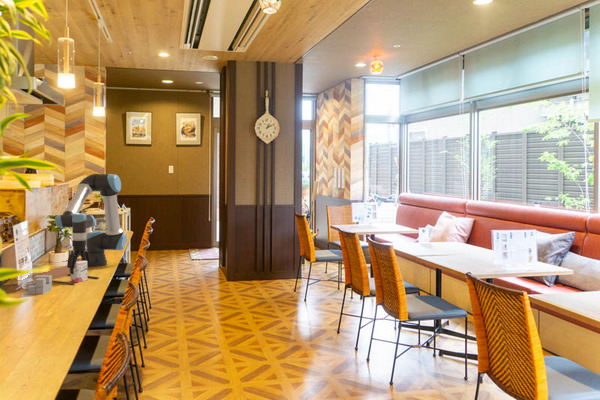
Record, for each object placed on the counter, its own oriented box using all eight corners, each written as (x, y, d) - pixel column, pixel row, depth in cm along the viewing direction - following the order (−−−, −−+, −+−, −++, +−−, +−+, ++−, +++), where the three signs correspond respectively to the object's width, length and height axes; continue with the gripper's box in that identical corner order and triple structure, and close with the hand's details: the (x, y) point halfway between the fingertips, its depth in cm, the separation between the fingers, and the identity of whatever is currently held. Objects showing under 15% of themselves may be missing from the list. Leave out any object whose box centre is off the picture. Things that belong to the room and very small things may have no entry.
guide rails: (67, 275, 329) (67, 273, 328) (98, 278, 319) (98, 277, 319) (40, 280, 310) (40, 279, 310) (73, 285, 301) (73, 283, 301)
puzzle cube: (29, 289, 289) (29, 275, 288) (52, 289, 290) (52, 275, 289) (19, 294, 277) (19, 279, 277) (43, 294, 278) (43, 279, 277)
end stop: (66, 274, 329) (66, 265, 328) (69, 275, 328) (69, 265, 328) (40, 280, 310) (39, 270, 310) (42, 281, 309) (42, 271, 309)
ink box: (77, 282, 307) (77, 262, 306) (70, 282, 309) (70, 261, 308) (87, 280, 315) (87, 260, 315) (81, 279, 317) (81, 259, 316)
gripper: (87, 237, 322) (87, 274, 323) (59, 241, 302) (59, 280, 303) (97, 238, 319) (97, 275, 320) (69, 242, 299) (69, 281, 301)
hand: (79, 277), depth 312 cm, fingers closed on ink box, 9 cm apart
